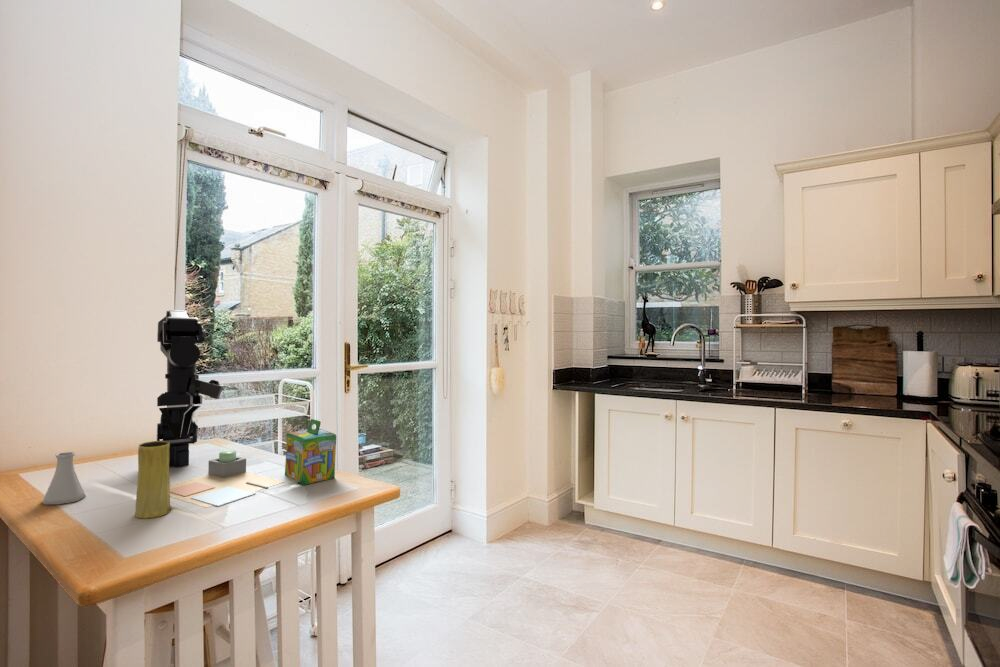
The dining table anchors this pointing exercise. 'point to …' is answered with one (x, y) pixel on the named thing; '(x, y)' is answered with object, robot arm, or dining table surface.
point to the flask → (64, 482)
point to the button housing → (227, 467)
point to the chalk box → (310, 454)
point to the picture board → (220, 488)
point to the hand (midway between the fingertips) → (181, 436)
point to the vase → (153, 480)
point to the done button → (227, 456)
